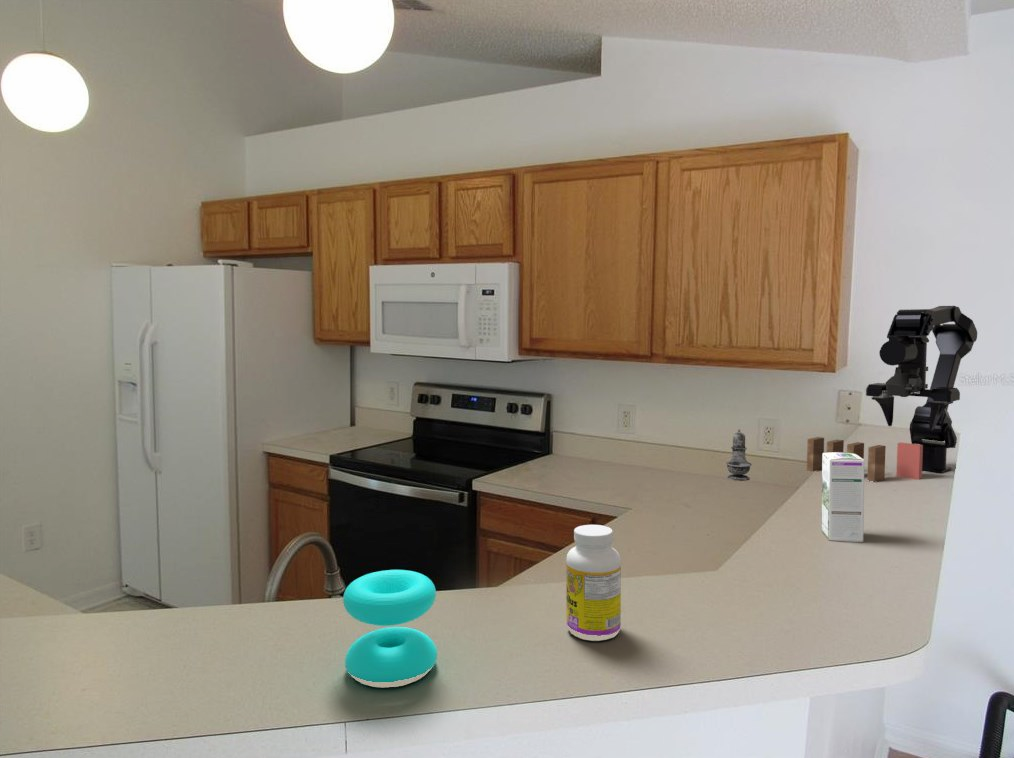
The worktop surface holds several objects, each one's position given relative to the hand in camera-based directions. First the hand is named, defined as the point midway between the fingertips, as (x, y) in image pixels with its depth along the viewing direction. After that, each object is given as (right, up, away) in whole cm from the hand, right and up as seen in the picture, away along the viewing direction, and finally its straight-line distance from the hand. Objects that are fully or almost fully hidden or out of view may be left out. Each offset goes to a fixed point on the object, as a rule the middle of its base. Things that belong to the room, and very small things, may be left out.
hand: (910, 428), depth 165 cm
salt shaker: (-40, -12, +2) cm, 42 cm away
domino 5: (0, -12, +1) cm, 12 cm away
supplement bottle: (-85, -20, -79) cm, 118 cm away
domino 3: (-12, -12, +3) cm, 17 cm away
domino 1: (-18, -11, +11) cm, 24 cm away
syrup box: (-37, -16, -43) cm, 59 cm away
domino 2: (-15, -12, +7) cm, 20 cm away
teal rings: (-109, -21, -88) cm, 141 cm away
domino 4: (-9, -12, -1) cm, 15 cm away
